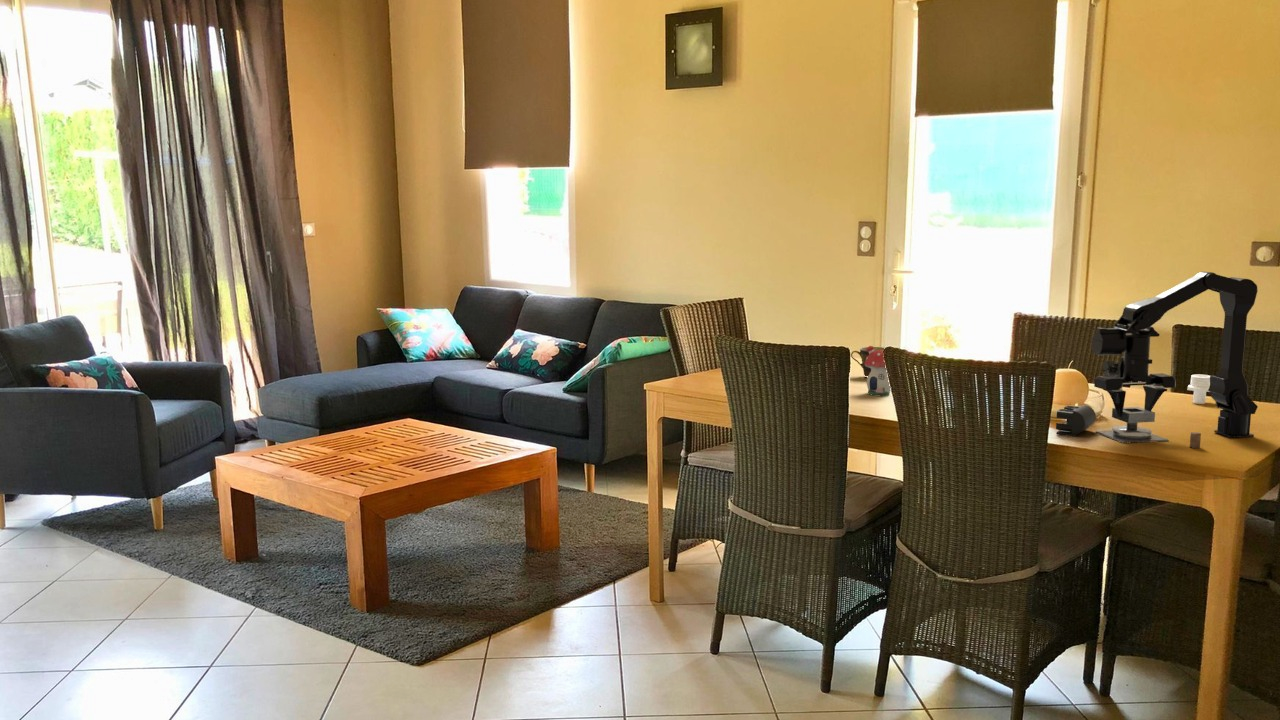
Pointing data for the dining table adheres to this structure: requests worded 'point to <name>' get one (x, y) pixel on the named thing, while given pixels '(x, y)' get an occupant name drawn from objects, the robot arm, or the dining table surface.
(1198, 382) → the pipe fitting
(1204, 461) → the dining table surface
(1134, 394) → the dining table surface
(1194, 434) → the stand post
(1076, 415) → the end cap
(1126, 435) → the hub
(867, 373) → the ceramic cup
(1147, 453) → the dining table surface
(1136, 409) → the grey square base
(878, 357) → the decorative ornament
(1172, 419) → the dining table surface
